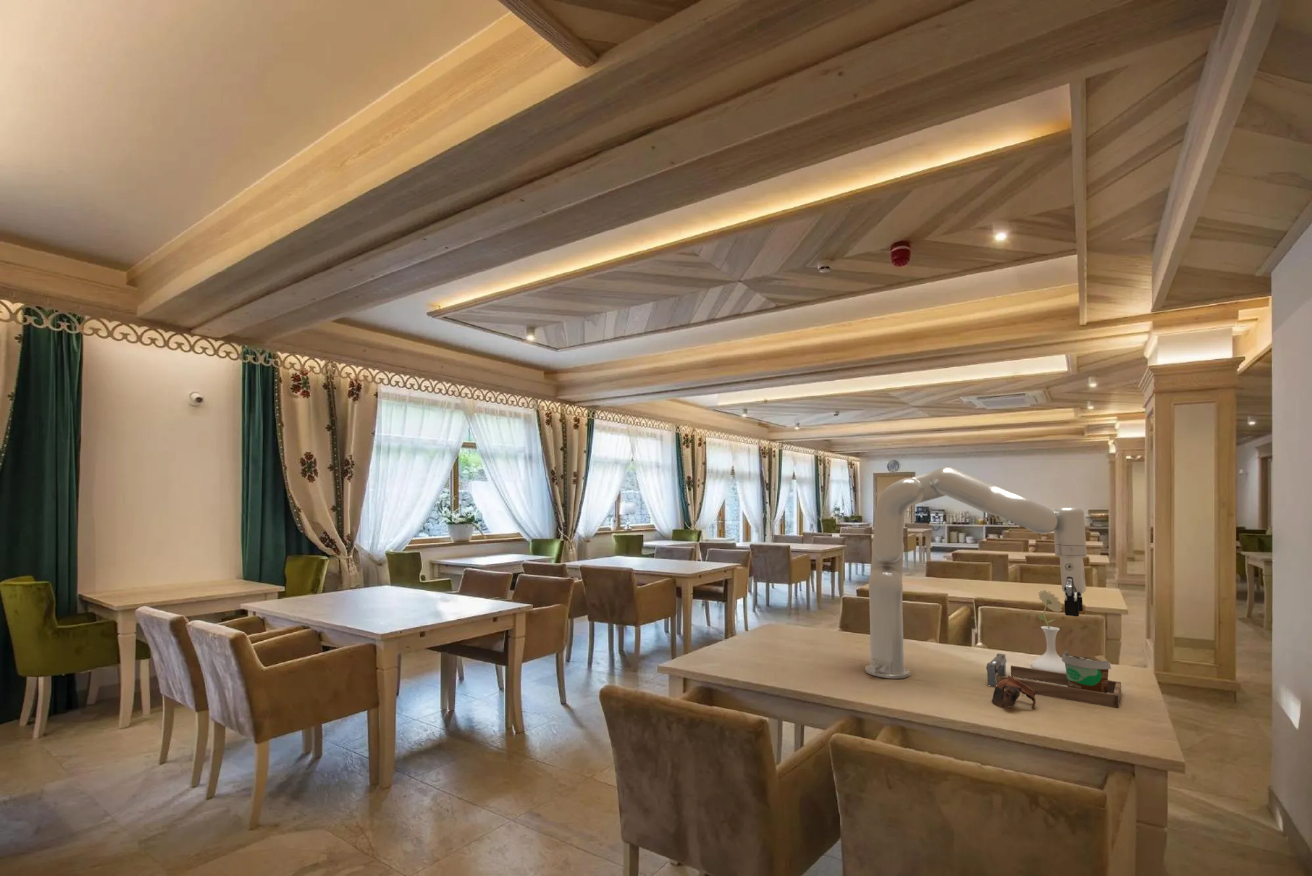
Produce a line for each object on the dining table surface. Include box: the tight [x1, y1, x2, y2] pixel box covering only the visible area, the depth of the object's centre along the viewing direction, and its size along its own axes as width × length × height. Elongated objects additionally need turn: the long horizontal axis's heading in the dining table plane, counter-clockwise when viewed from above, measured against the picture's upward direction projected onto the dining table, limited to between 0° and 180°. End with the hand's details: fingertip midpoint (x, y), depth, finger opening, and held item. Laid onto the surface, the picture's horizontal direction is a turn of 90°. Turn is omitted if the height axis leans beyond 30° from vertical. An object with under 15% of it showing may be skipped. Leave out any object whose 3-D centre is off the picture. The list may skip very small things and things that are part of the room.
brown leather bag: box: [991, 675, 1037, 710], centre depth 168 cm, size 12×10×8 cm
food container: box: [1061, 650, 1112, 693], centre depth 179 cm, size 12×6×10 cm, turn 25°
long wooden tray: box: [1000, 665, 1122, 709], centre depth 182 cm, size 16×27×3 cm, turn 52°
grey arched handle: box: [985, 653, 1007, 687], centre depth 193 cm, size 18×3×6 cm, turn 142°
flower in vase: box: [1029, 589, 1066, 674], centre depth 201 cm, size 13×11×25 cm
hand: (1074, 613), depth 182 cm, fingers open, 9 cm apart
